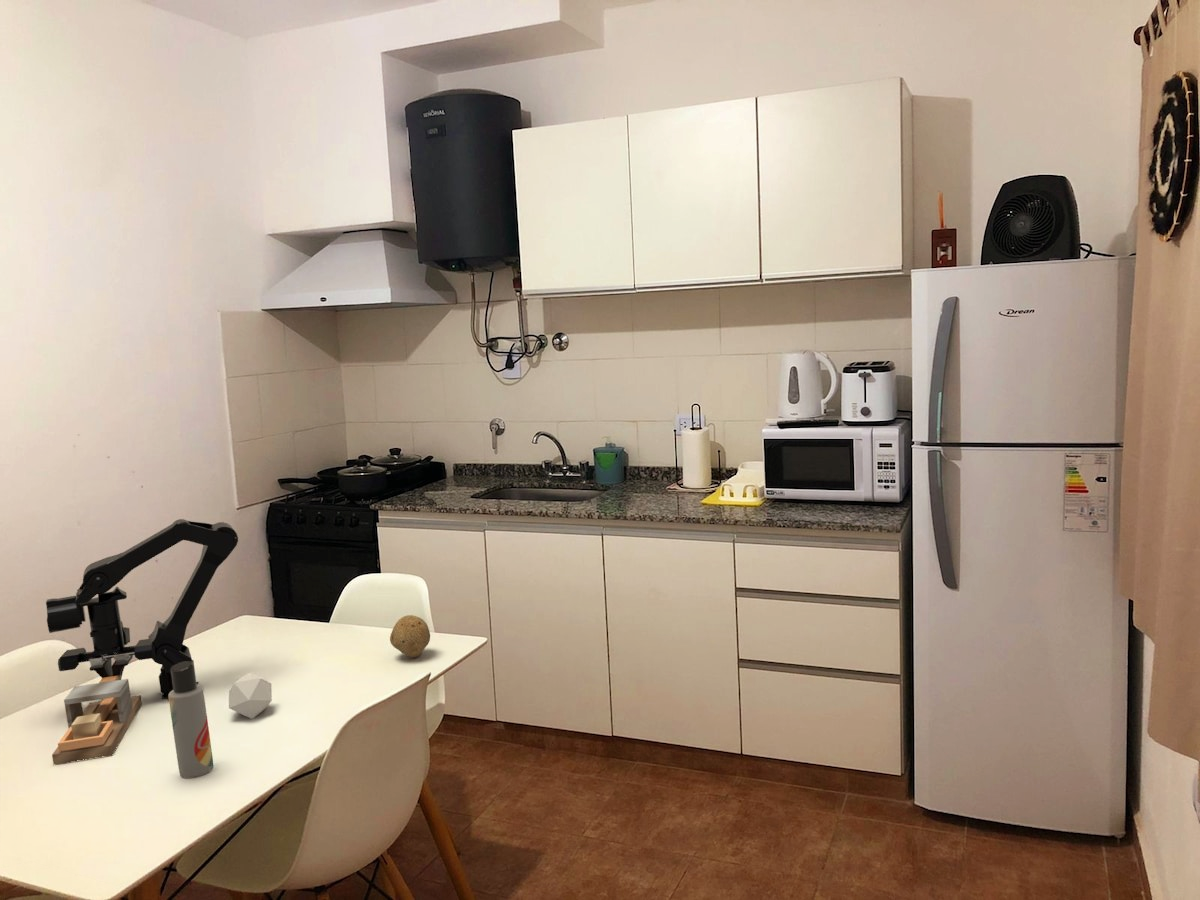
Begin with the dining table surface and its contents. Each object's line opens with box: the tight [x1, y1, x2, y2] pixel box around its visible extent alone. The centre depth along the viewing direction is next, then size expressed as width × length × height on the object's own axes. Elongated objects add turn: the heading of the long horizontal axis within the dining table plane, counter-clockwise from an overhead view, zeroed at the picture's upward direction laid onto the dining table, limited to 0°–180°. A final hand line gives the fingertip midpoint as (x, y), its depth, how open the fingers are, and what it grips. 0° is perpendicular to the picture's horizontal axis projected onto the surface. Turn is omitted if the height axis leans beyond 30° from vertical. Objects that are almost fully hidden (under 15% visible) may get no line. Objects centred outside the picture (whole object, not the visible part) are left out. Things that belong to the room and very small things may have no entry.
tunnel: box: [51, 678, 143, 765], centre depth 187 cm, size 10×25×8 cm, turn 14°
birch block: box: [71, 713, 103, 739], centre depth 180 cm, size 4×4×4 cm
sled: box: [57, 675, 119, 751], centre depth 187 cm, size 8×24×5 cm, turn 14°
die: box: [228, 672, 273, 720], centre depth 192 cm, size 8×9×10 cm
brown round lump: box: [389, 614, 431, 659], centre depth 217 cm, size 9×9×10 cm
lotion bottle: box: [168, 661, 214, 779], centre depth 167 cm, size 6×6×20 cm
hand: (116, 692), depth 201 cm, fingers closed, pressing on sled
